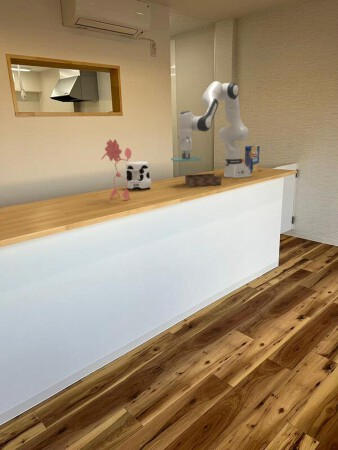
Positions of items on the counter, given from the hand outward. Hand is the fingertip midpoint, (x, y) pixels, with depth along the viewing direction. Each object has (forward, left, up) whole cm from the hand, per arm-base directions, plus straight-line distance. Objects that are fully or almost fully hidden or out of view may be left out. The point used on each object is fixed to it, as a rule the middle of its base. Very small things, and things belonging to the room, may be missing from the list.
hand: (185, 157), depth 227 cm
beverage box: (-71, -46, -20) cm, 87 cm away
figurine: (+51, +31, -20) cm, 63 cm away
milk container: (+34, 0, -20) cm, 39 cm away
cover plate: (0, 0, -2) cm, 2 cm away
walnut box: (-12, 0, -20) cm, 23 cm away
